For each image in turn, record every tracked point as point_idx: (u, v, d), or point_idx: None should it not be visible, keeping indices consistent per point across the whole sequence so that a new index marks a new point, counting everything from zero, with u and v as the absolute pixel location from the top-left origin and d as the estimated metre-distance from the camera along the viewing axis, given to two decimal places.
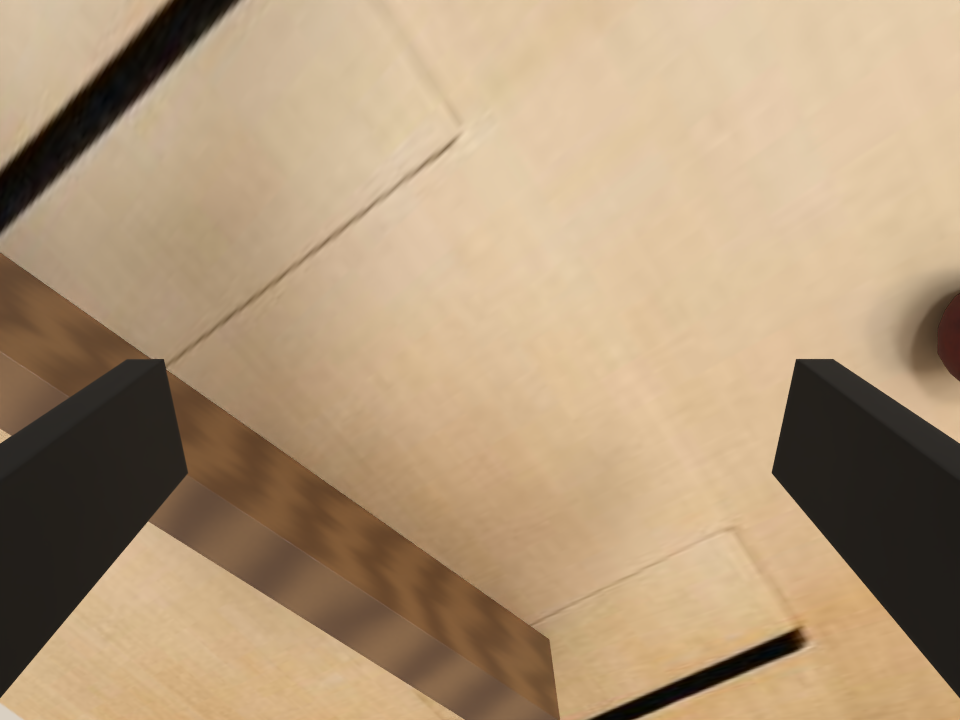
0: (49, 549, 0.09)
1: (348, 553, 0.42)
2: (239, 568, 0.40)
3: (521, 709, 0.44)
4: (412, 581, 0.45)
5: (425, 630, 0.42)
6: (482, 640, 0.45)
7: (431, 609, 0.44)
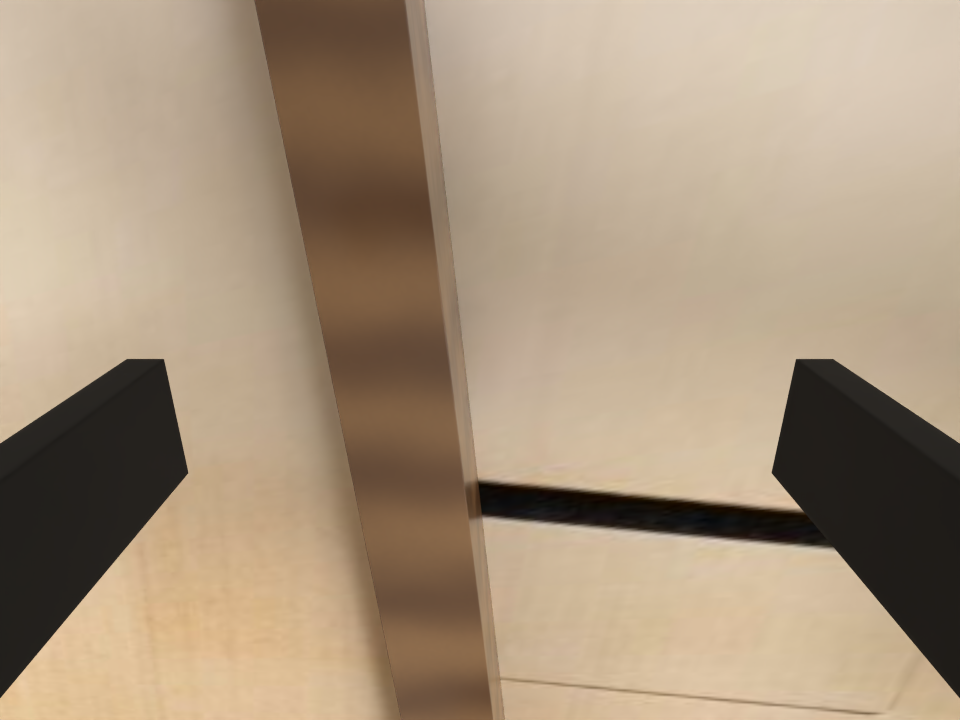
0: (49, 549, 0.09)
1: None
2: None
3: None
4: None
5: None
6: None
7: None
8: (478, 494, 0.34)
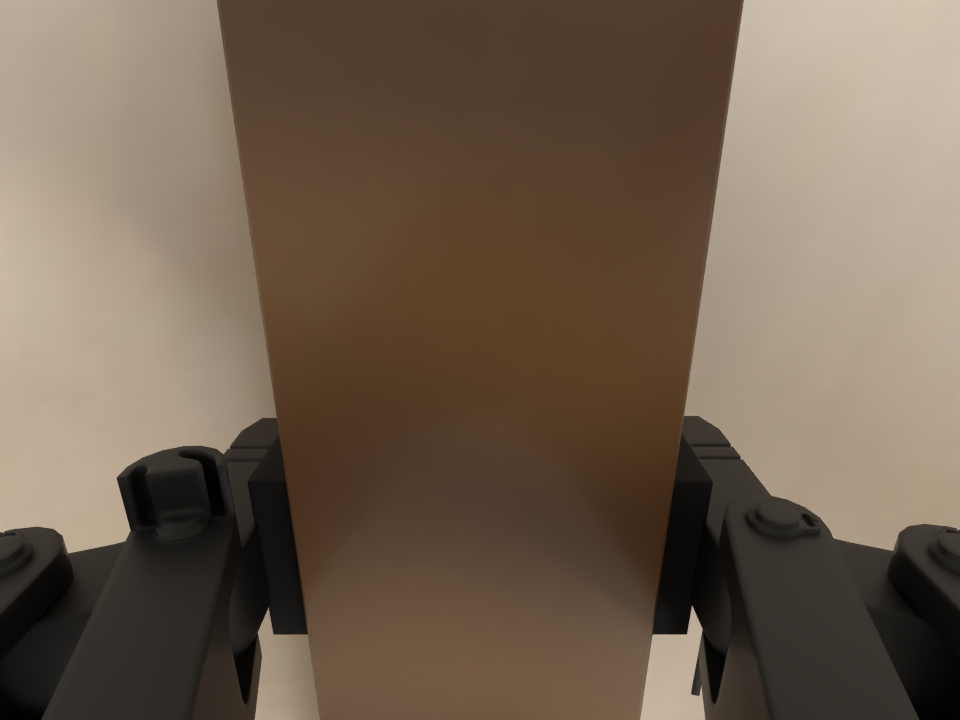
0: None
1: None
2: None
3: None
4: None
5: None
6: None
7: None
8: None
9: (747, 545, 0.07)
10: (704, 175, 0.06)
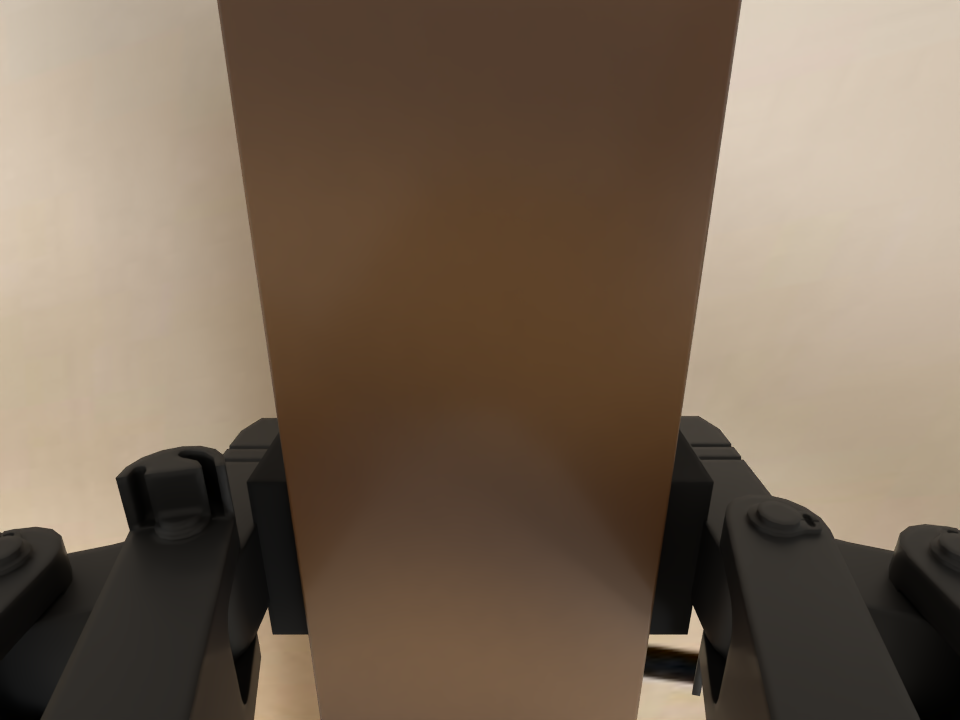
0: None
1: None
2: None
3: None
4: None
5: None
6: None
7: None
8: None
9: (749, 545, 0.07)
10: (703, 176, 0.06)
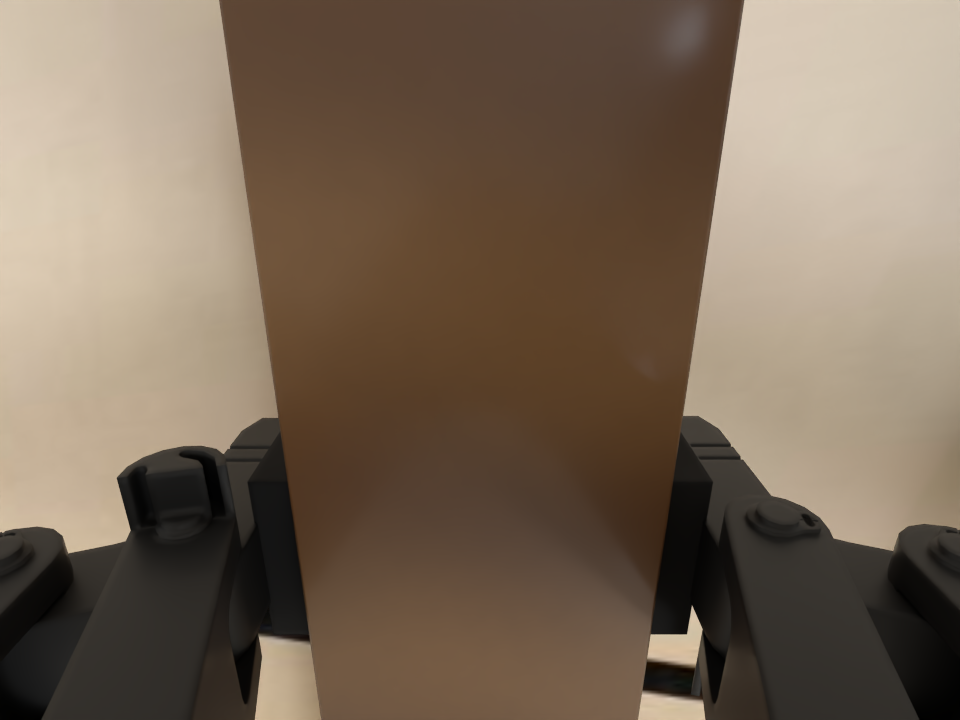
0: None
1: None
2: None
3: None
4: None
5: None
6: None
7: None
8: None
9: (747, 545, 0.07)
10: (704, 179, 0.06)
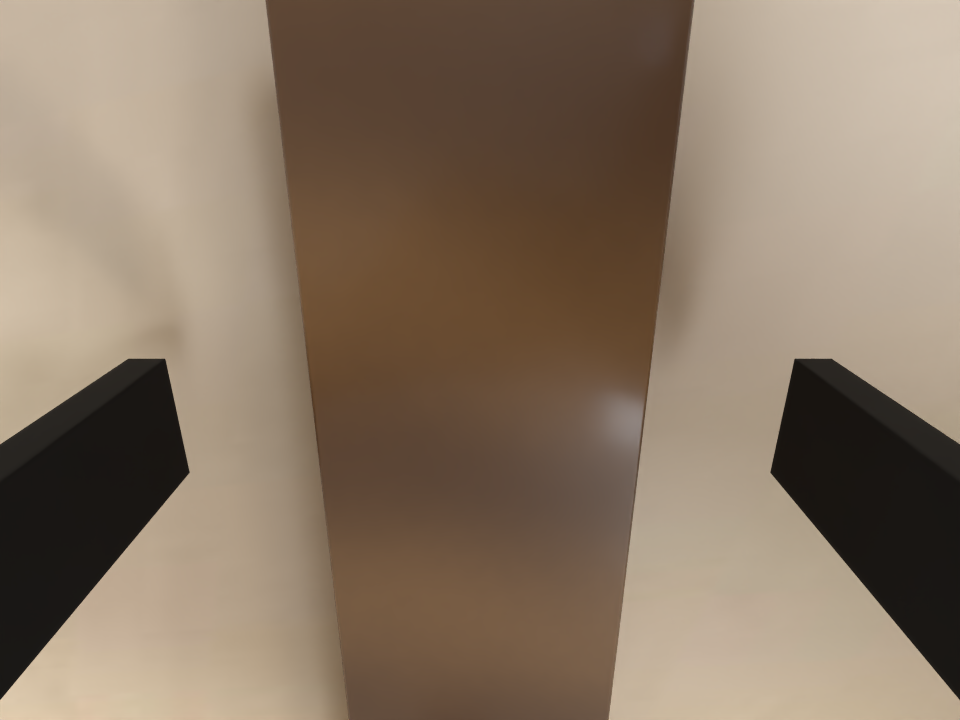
0: (52, 548, 0.09)
1: None
2: None
3: None
4: None
5: None
6: None
7: None
8: None
9: None
10: (659, 203, 0.07)
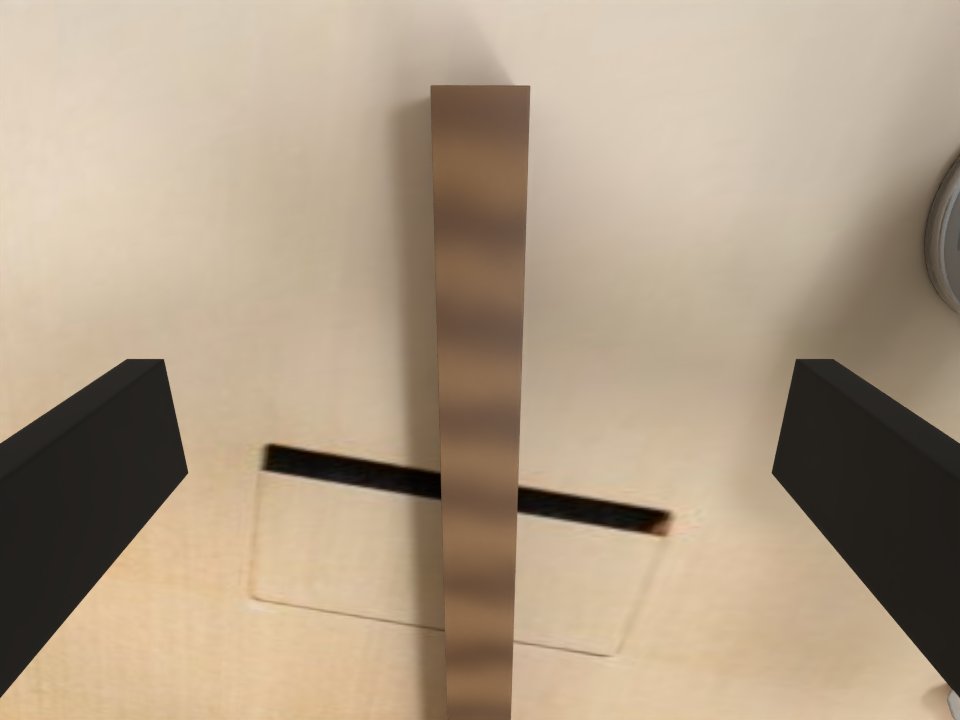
0: (50, 549, 0.09)
1: None
2: None
3: None
4: None
5: None
6: None
7: None
8: None
9: None
10: (525, 144, 0.29)
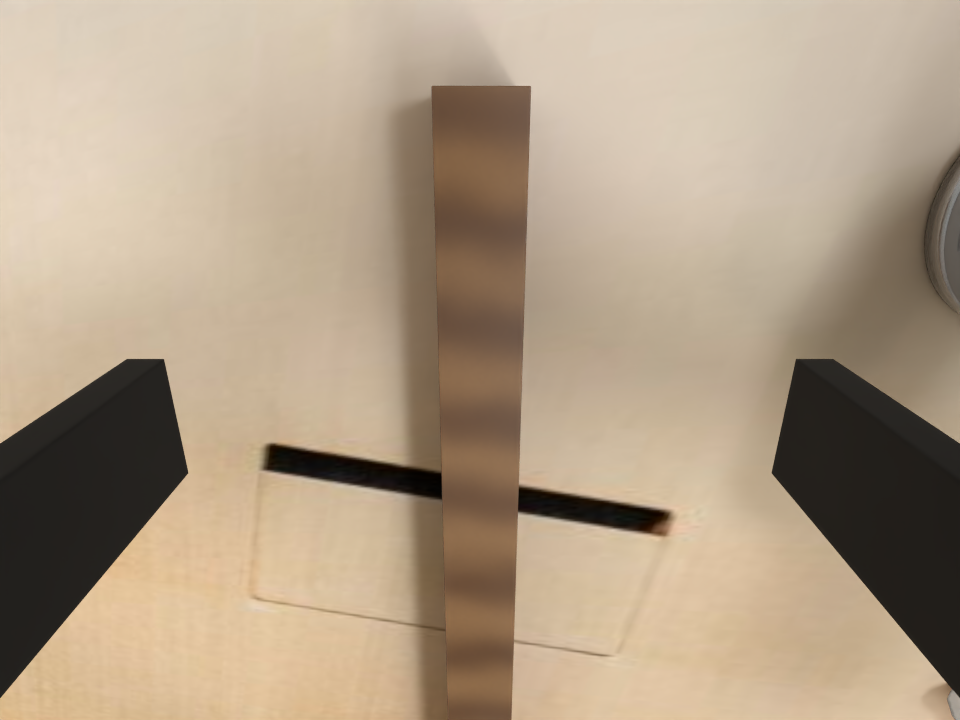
0: (50, 549, 0.09)
1: None
2: None
3: None
4: None
5: None
6: None
7: None
8: None
9: None
10: (526, 144, 0.29)
